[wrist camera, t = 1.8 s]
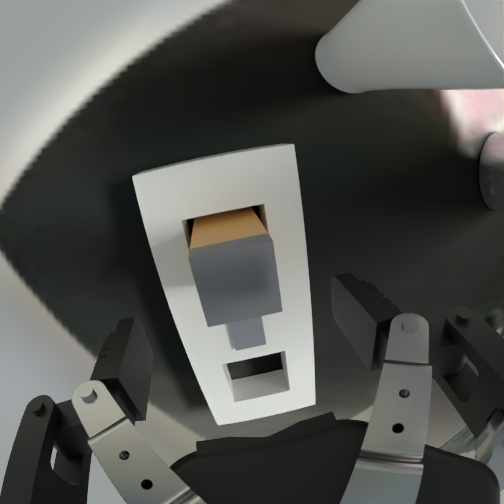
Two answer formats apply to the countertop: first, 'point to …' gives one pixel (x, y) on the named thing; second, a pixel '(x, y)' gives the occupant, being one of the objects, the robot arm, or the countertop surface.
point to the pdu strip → (288, 268)
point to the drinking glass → (415, 46)
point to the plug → (234, 267)
